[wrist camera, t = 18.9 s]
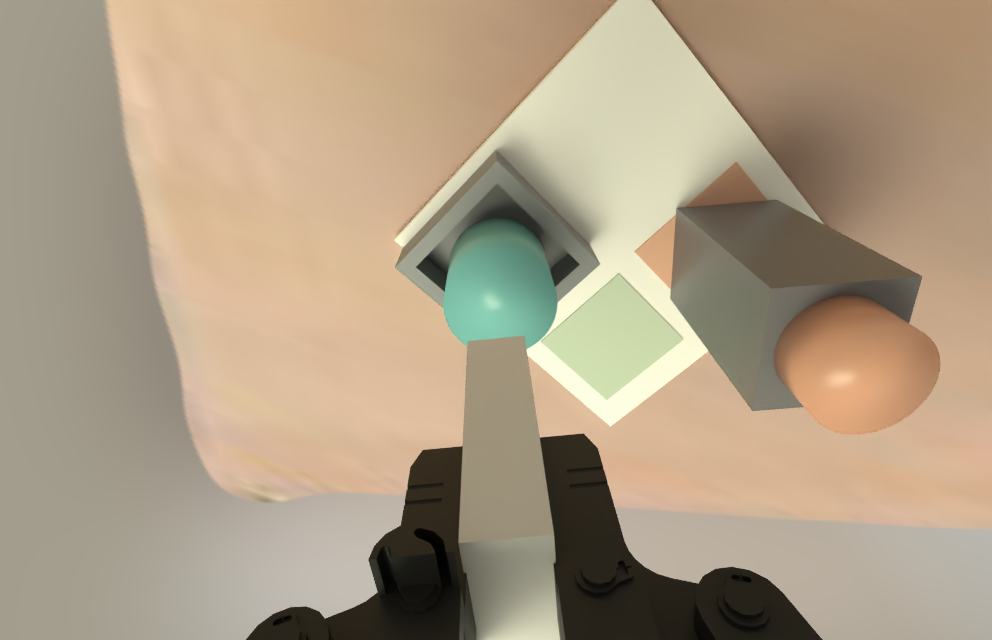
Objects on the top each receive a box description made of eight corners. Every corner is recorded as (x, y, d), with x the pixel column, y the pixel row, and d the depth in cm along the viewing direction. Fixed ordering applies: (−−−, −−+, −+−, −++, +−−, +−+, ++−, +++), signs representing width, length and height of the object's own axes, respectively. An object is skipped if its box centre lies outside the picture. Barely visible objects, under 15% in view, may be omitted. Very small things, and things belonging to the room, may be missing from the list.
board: (835, 243, 26) (877, 267, 23) (608, 419, 30) (620, 457, 27) (632, -18, 21) (655, -27, 18) (396, 236, 25) (385, 259, 23)
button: (566, 263, 23) (580, 304, 19) (498, 325, 24) (501, 374, 21) (497, 197, 22) (499, 227, 18) (429, 266, 23) (419, 307, 19)
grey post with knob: (776, 199, 24) (976, 305, 14) (763, 291, 26) (931, 439, 16) (676, 208, 24) (806, 318, 14) (670, 298, 26) (781, 450, 16)
